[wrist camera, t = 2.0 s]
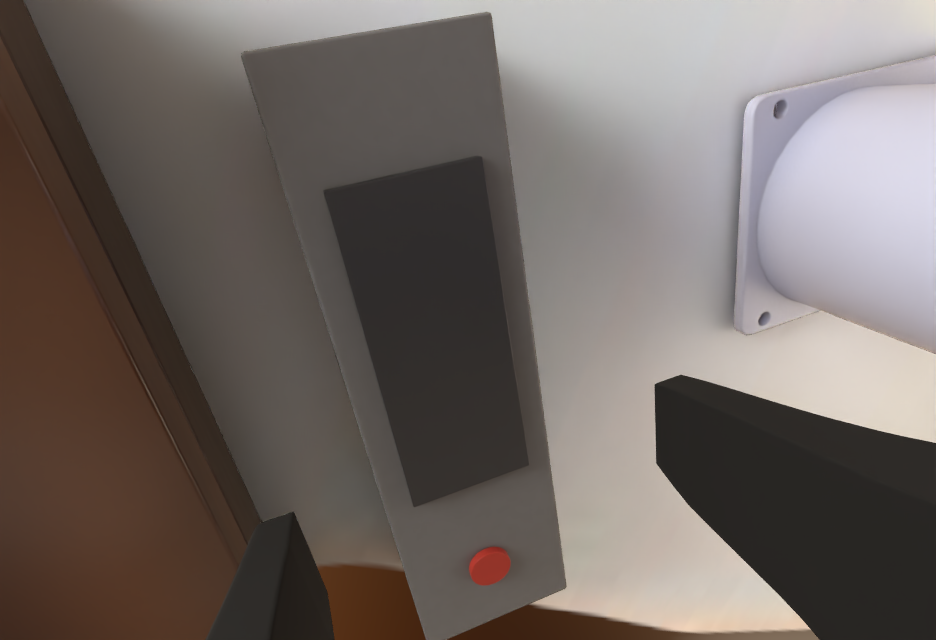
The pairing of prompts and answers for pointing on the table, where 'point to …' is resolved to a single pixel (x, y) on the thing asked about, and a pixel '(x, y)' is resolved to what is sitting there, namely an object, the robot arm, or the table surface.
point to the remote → (424, 299)
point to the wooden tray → (95, 399)
